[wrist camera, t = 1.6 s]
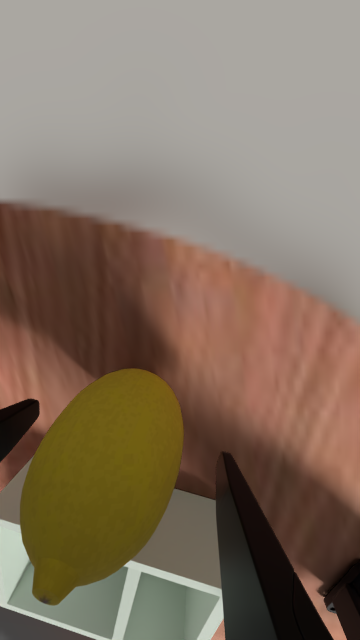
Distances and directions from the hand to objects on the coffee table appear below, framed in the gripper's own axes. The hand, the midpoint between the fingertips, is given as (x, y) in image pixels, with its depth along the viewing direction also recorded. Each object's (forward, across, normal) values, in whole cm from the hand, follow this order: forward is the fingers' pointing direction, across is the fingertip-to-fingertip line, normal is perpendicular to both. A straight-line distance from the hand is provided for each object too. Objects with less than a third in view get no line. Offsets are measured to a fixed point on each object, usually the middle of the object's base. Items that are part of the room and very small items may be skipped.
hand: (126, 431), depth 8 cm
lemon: (+4, 0, 0) cm, 4 cm away
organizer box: (+4, 0, +15) cm, 15 cm away
